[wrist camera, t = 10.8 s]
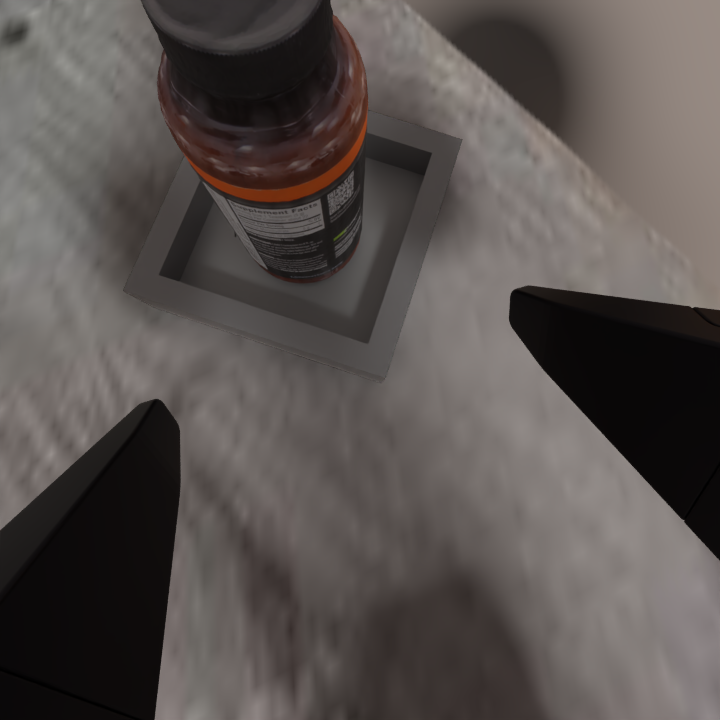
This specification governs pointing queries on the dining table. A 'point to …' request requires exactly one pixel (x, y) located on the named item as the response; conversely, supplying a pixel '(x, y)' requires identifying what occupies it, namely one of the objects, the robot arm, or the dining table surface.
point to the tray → (309, 300)
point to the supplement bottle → (270, 123)
